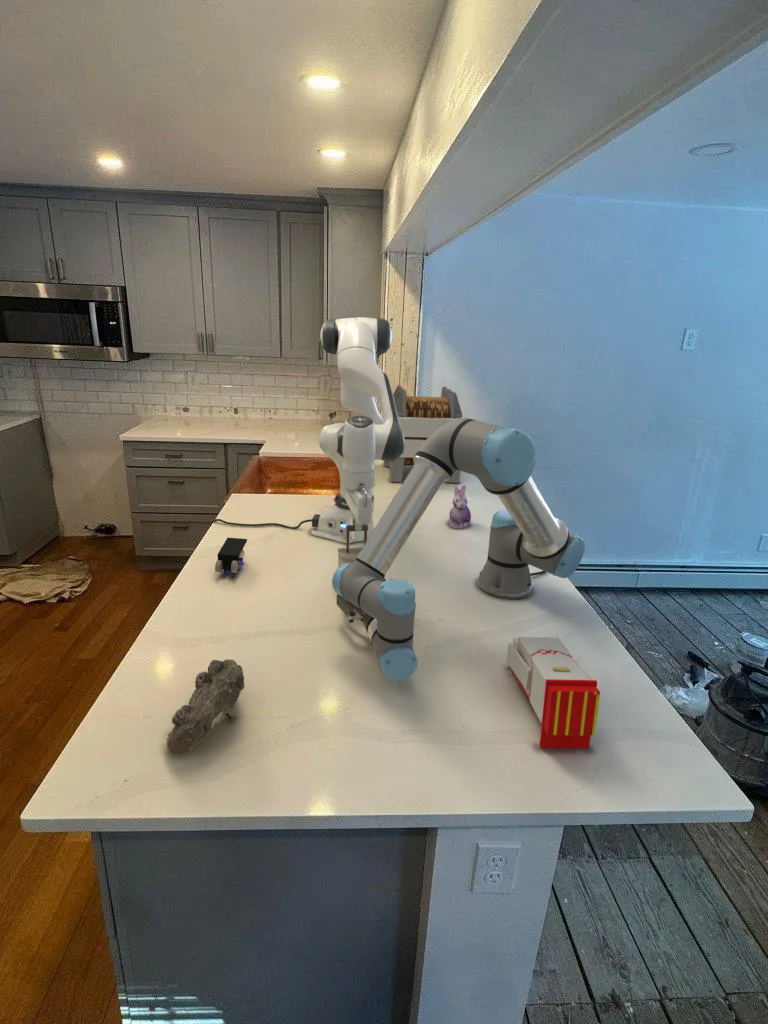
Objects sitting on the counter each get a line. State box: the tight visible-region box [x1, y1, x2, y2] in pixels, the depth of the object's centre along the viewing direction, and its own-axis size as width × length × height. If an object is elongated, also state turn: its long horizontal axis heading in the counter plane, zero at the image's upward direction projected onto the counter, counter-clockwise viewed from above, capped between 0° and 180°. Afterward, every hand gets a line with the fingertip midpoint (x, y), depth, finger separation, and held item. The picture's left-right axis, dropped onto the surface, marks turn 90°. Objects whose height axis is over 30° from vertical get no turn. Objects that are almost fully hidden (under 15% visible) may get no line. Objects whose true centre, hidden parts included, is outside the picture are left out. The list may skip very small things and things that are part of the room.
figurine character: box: [214, 537, 248, 578], centre depth 166 cm, size 7×8×15 cm
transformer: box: [383, 384, 463, 484], centre depth 268 cm, size 34×33×41 cm
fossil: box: [166, 658, 245, 754], centre depth 106 cm, size 22×10×15 cm
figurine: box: [448, 484, 472, 529], centre depth 208 cm, size 9×10×15 cm
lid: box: [337, 524, 368, 564], centre depth 150 cm, size 18×9×9 cm, turn 13°
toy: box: [505, 636, 601, 749], centre depth 115 cm, size 12×13×30 cm
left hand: (356, 527), depth 155 cm, fingers closed on lid, 2 cm apart
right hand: (363, 583), depth 148 cm, fingers closed on chest, 9 cm apart
